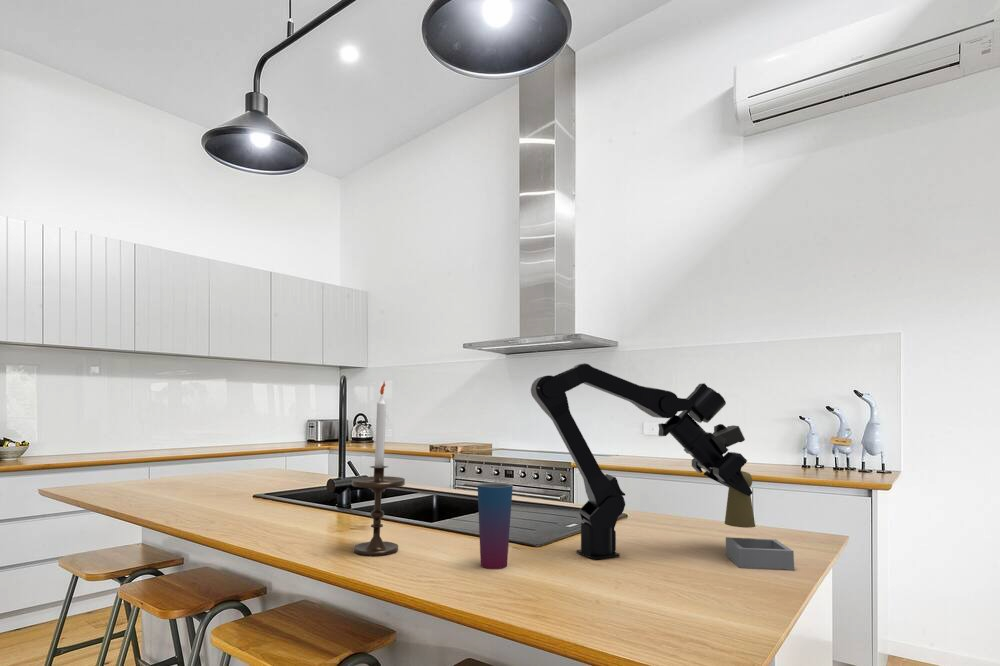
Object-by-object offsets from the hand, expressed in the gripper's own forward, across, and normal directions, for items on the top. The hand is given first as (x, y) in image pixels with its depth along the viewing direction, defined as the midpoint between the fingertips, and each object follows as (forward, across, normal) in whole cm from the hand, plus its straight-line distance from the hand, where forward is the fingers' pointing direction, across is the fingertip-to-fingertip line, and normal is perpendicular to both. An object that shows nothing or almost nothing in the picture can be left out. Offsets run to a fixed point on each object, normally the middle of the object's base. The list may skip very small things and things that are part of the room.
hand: (745, 492), depth 126 cm
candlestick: (-44, -3, +64) cm, 78 cm away
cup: (-27, -12, +47) cm, 55 cm away
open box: (+9, -6, +9) cm, 14 cm away
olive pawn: (+4, 0, +6) cm, 7 cm away
